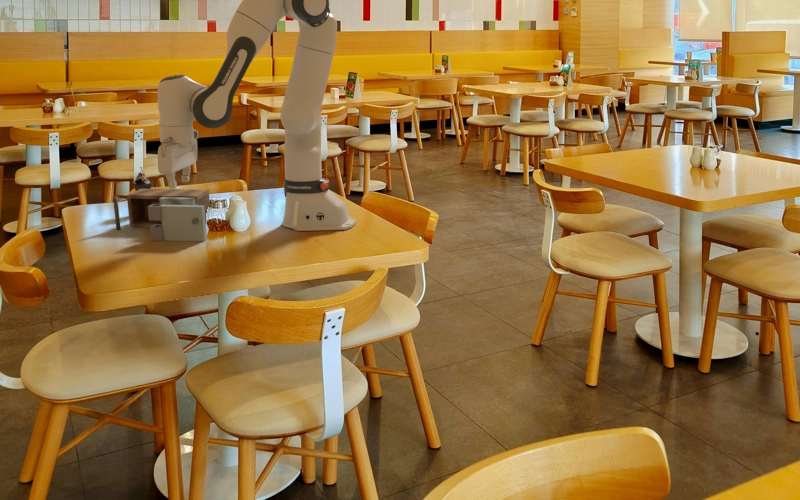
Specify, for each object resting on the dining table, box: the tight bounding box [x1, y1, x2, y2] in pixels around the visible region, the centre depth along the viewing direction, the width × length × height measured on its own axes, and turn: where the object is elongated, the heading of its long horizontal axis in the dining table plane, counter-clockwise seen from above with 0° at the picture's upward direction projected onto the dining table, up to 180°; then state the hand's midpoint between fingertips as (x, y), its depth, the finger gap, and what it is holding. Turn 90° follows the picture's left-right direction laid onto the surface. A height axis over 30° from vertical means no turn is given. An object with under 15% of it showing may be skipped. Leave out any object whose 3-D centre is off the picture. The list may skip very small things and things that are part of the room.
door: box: [148, 204, 208, 242], centre depth 222 cm, size 16×4×10 cm, turn 84°
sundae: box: [131, 166, 154, 192], centre depth 255 cm, size 7×7×15 cm
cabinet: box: [112, 188, 211, 231], centre depth 238 cm, size 25×15×10 cm, turn 84°
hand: (179, 184), depth 219 cm, fingers open, 8 cm apart
